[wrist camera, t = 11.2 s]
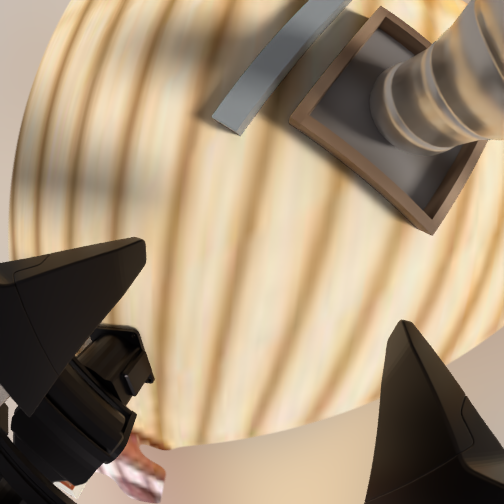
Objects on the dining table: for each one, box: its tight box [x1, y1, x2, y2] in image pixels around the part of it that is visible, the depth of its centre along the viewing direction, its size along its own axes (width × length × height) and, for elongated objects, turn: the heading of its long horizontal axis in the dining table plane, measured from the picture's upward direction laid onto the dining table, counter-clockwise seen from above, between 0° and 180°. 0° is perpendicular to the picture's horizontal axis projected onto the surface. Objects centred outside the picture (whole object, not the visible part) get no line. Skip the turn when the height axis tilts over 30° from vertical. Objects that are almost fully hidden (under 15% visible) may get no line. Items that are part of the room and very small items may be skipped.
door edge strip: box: [212, 0, 352, 136], centre depth 15 cm, size 18×2×2 cm, turn 146°
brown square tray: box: [289, 6, 488, 236], centre depth 15 cm, size 13×13×2 cm
